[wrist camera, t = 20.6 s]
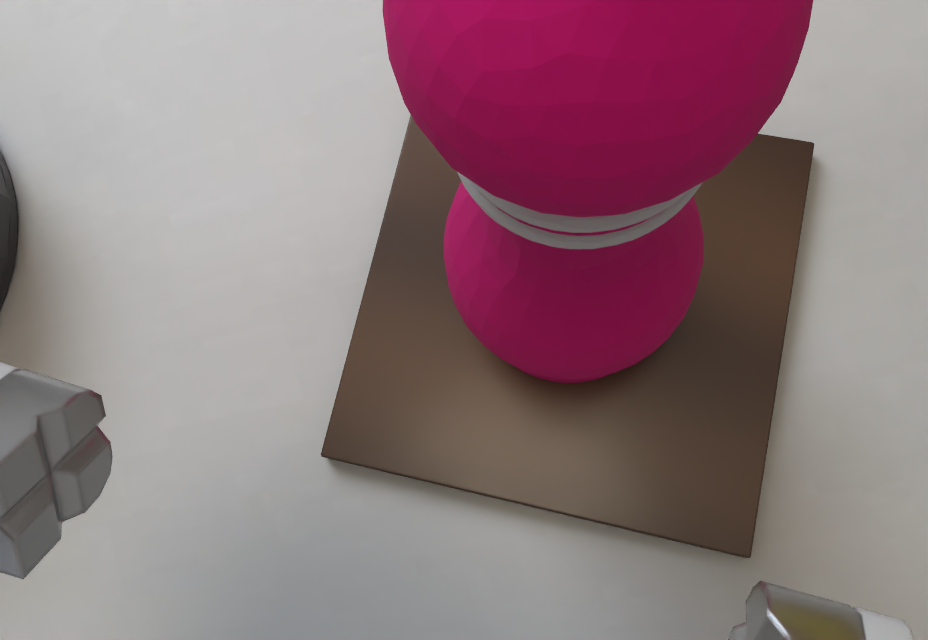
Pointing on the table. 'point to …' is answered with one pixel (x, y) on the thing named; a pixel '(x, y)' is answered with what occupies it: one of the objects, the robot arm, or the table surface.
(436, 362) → the trivet
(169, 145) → the table surface
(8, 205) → the pan
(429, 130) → the pepper mill
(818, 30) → the table surface
